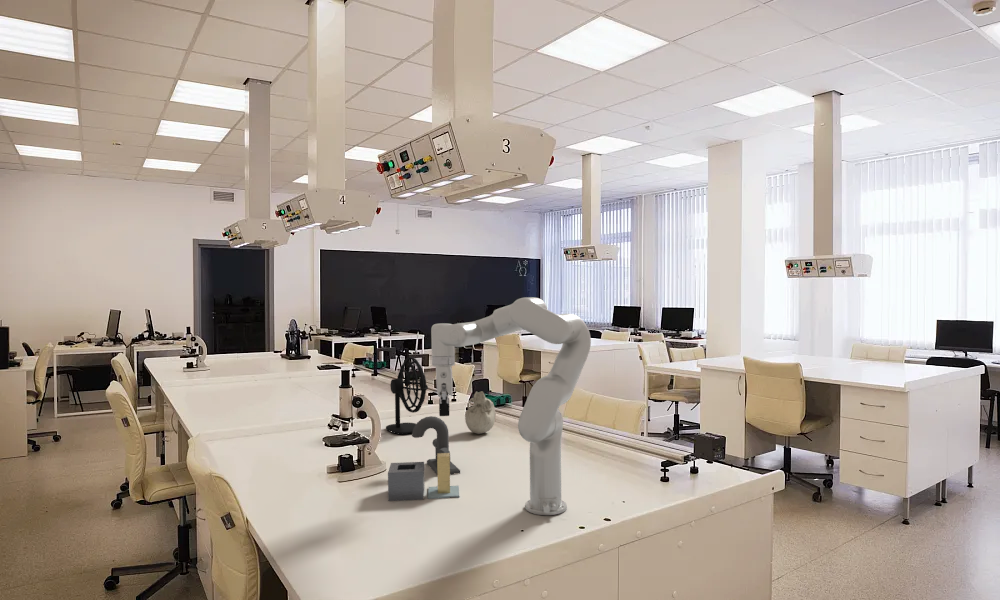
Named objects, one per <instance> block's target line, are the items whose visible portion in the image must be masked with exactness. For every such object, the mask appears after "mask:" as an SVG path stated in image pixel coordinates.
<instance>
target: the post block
mask: <svg viewBox="0 0 1000 600" xmlns="http://www.w3.org/2000/svg"><path fill="white" fill-rule="evenodd" d="M424 497H425V461H415V462H414V461H410V462H409V461H408V462H407V461H405V462H390V465H389V469H388V472H387V499H388V501H387V502H394V501H396V502H397V501H417V500H419V501H422V500H424Z"/></svg>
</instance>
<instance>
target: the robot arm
mask: <svg viewBox="0 0 1000 600" xmlns="http://www.w3.org/2000/svg"><path fill="white" fill-rule="evenodd" d="M430 330H431V332H430V333H431V335H430V336H431V338H430V339H431V366H432V367H435V382H436V383H435V384H436V385H435V386H436V393H437V397H439V402H438V403H439V406H438V408H439V410H438V411H439V414H438V415H439V417H449V416H450V397H453V395H454V393H453V391H454V390H453V367H454V366H455V365H456V355H455V354H456V353H455V352H456V351H455V348H462V347H467V346H472V345H473V346H474V345H477V344H481V343H483V342H487V341H489V340H493V339H496V338H499V337H504V336H505V335H510V334H512V333H514V332H518V331H521V330H525V331H526V332H528V333H529V334H532V335H533V336H536V337H537V338H539V339H541V340H543V341H544V342H547V343H549V344H552V345H561V348H560V349H559V351H558V353H557V354H556V358H555V359H554V362H553V364H552V367H551V369H550V371H549V372H548V374H547V375H545V376H542V377H541V378H539V379H538V380H536V382H534V384H533V385H532V387H531V389H530V391H529V394H528V396H527V397H526V401H525V403H524V405H523V407H522V410H521V412H520V416H519V418H518V422H517V428H518V432H519V435H520V436H521V437H522V439H523V440H524V441H526V442H528V443H529V498H530V499H528V500H527V501H526V502H525V504H524V508H525V510H526V511H528V512H529V513H531V514H534V515H539V516H553V515H554V516H555V515H560V514H562V513H565V511H566V510H567V503H566V502H565V500H562V438H563V437H562V436H563V427H564V421H563V415H562V412H561V411H560V409H559V408H560V406H562V405H564V404H565V403H567V402H568V401H569V400H570V399H571V398H572V396H573V393H574V391H575V388H576V386H577V384H578V381H579V378H580V376H581V374H582V370H583V369H584V366H585V364H586V361H587V359H588V357H589V354H590V350H591V344H592V339H591V333H590V330H589V328H588V326H587V324H586V323H585V322H584V320H583V319H582V317H579V316H578V315H577V314H573V313H559V314H557V313H555V312H554V311H551V310H549V309H548V307H547V304H546V302H544V300H542V299H541V298H539V297H535V296H534V297H532V296H530V297H529V296H528V297H521V298H517V299H516V300H515V301H513V303H511V304H509V305H505V306H503V307H499V308H497V309H496V308H495V309H494V310H493V313H492V314H490V315H489V316H486V317H483V318H480V319H477V320H473V321H469V322H461V323H454V324H452V323H445V322H444V323H443V322H442V323H435V324H433V325H432V326H431V329H430ZM449 396H450V397H449Z"/></svg>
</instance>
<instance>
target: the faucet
mask: <svg viewBox="0 0 1000 600" xmlns="http://www.w3.org/2000/svg"><path fill="white" fill-rule="evenodd" d="M429 429H433V430H434V431H436V432H435V433H436V438H434V439H433V441H432V446H433V447H434V449H435V458H429V459H427V460H426V465H427V466H428V465H429V466H430V467H431V468H430V467H429V466H428V467H429V468H430V469H431V470H432V471H433V472H434V473H435V474H436V476H438V473H437V453H450V454H451V452H450V450H449V449H450V446H449V441H450V440H449V438H450V437H449V435H450V434H449V428H448V425H447V424H446V423H445V421H444V420H442V418H440V417H438V416H437V417H436V416H431V415H430V416H425V417H423V418H420V420H418V422H416V425H415V427H414V429H413V432H412V434H411V437H412V438H415V439H417V438H423V437H424V436H425V434H426V433H425V432H427V430H429ZM454 473H459V474H461V469H459V468H458V467H457V465H455V464H454V463H453V462H452V461H451V460H450V474H451V475H455V474H454Z"/></svg>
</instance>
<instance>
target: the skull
mask: <svg viewBox="0 0 1000 600" xmlns="http://www.w3.org/2000/svg"><path fill="white" fill-rule="evenodd" d="M471 403H472V406H470V405H471ZM464 419H465V420H464V421H465V424H466V426H467V428H468V430H469V431H470V432H472V433H474V434H477V435H481V434H484V433H487V432H489V431H490V430H491V429H492V428H493V427H494V424H495V419H496V408H495V405H494V402H493V401H492V400H491V399H489V398H487V397H486V395H485V392H484V391H479V392H478V391H475V393H474V394H473V397H472V398H470V399H469V401H468V402H467V410H466V411H465V414H464Z"/></svg>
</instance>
